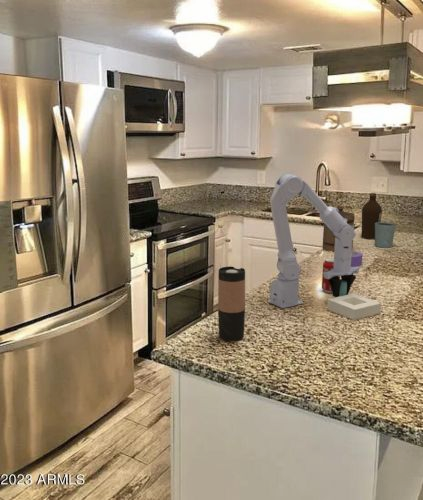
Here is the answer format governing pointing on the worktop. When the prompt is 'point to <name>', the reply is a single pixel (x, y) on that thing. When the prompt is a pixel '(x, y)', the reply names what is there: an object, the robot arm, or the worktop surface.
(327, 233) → the wooden container
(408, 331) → the worktop surface
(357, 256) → the tape roll
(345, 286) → the teal dowel
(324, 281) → the beverage can
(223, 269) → the travel mug
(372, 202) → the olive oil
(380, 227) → the drinking glass
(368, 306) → the well block
